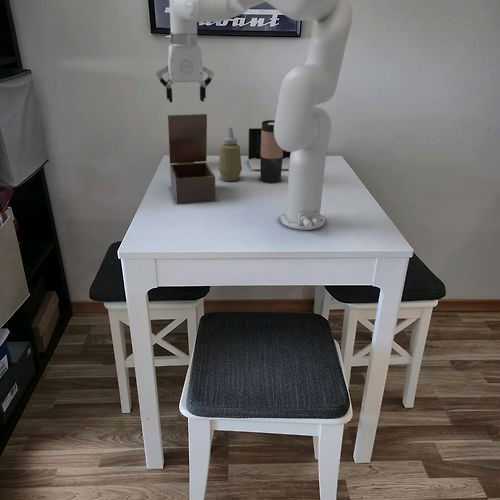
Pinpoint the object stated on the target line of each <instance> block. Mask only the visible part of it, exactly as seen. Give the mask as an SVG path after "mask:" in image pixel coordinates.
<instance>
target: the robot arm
mask: <svg viewBox="0 0 500 500" xmlns="http://www.w3.org/2000/svg"><path fill="white" fill-rule="evenodd" d="M168 3H169V4H168V5H169V23H170V25H169V26H170V33H169V35H165V41H166V42H170V44H169V45H168V51H167V52H168V53H167V66H164V67H163V68H161V69H159V70H157V71H156V72H155V75H156V76H157V78H158V80H159V83H161V85H163V86H164V87H165V93H166V99H167V100H168V102H169V103H173V88H172V86H173V84H174V83H198V84H199V85H200V86H199V101H200V102H205V99H206V97H207V96H206V95H207V94H206V92H207V91H206V90H207V87H208V86H209V84H211V82H212V80H213V78H214V76H215V72H214V71H213V70H211V69H209V68H207V67H206V66H204V62H203V54H202V48H201V45H199V44H198V23H219V22H224V21H228V20H230V19H233V18H235V17H238V16H241V15H243V14H245V13H246V12H247V11H249V9H250V8H253V7H256V6H258V5H261V4H264V3H267V4H268V5H270V6H271V7H273V8H274V9H275V10H277V12H279V13H281V14H282V15H284V16H285V17H287V18H289V19H291V20H293V21H299V22H301V21H316V22H317V25H316V28H315V30H314V32H313V34H312V36H311V39H310V41H309V46H308V52H307V56H306V59H305V62H304V64H302V65H298V66H295V67H293V68H292V69H290V70H289V71H288V72H287V73H286V75H284V78H283V80H282V83H281V85H280V90H279V95H278V100H277V106H276V107H277V108H276V111H275V112H276V113H275V117H274V120H275V123H274V137H275V140H276V142H277V144H278V146H279V147H280V148H281V149H283V150H285V151H288V152H291V155H290V161H289V170H288V179H287V181H288V182H287V194H286V195H287V196H286V211H284V212H283V213H282V214H281V215H280V223H281V224H283V225H284V226H285V227H287V228H290V229H293V230H301V231H311V230H316V229H320V228H322V227H323V226H324V225H325V223H326V218H325V216H324V215H323V214H321V209H322V198H323V197H322V196H323V195H322V194H323V185H324V177H325V168H326V158H327V152H328V147H329V144H330V143H329V142H330V138H331V134H332V121H331V117H330V115H329V113H328V112H327V111H326V110H324V109H323V108H321V107H318V106H316V105H320V104H324V103H326V102H328V101H330V100H331V99H333V97H334V95H335V93H336V89H337V86H338V82H339V78H340V72H341V68H342V64H343V60H344V56H345V51H346V47H347V42H348V39H349V35H350V33H351V32H350V31H351V29H352V28H351V27H352V24H353V23H352V22H353V7H352V4H351V0H168ZM166 73H167V76H168V79H167V81H166V80H165V79H164V77H163V75H164V74H166ZM204 73H205V74H207V78H205V80H204Z"/></svg>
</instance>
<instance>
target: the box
mask: <svg viewBox="0 0 500 500" xmlns="http://www.w3.org/2000/svg"><path fill="white" fill-rule="evenodd" d="M169 169H170V185H171V186H170V187H171V190H172V194H173V197H174V199H175V202H176V204H177V205H180V204H181V205H182V204H183V205H184V204H193V203H206V202H216V201H217V200H216V199H217V198H216V175H215V174H214V171H212V168H211V167H210V166H209V164H208V163H207V161H205V162H194V163H186V164H177V163H169Z"/></svg>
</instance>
